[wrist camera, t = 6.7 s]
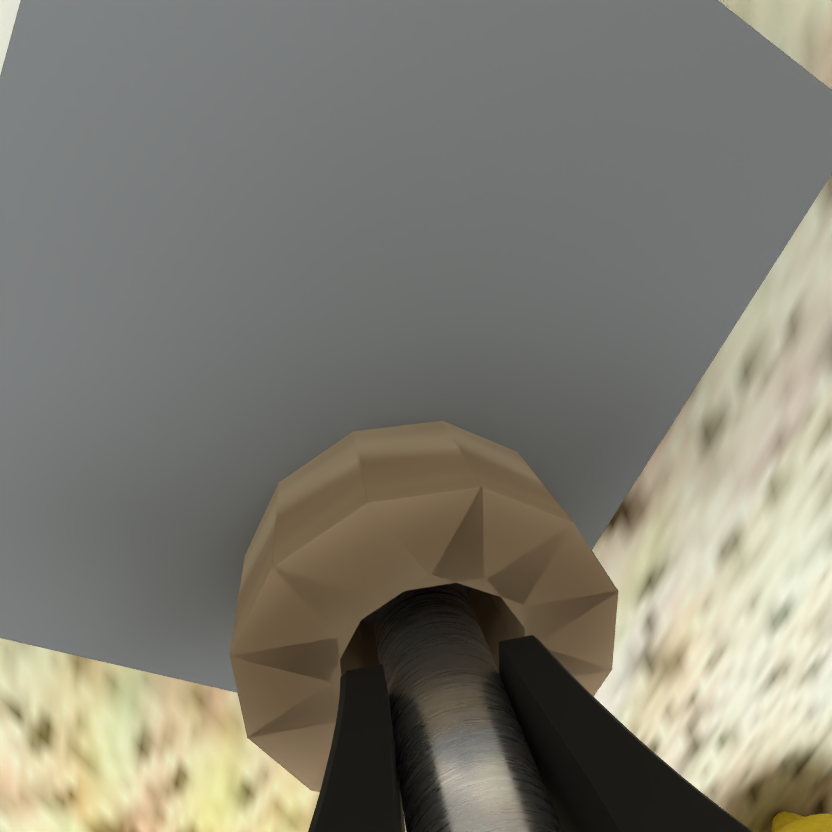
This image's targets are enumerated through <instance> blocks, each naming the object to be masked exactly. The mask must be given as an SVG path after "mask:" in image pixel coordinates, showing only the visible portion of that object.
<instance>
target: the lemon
mask: <svg viewBox="0 0 832 832" xmlns="http://www.w3.org/2000/svg"><path fill="white" fill-rule="evenodd" d="M772 832H832V814H814V815H809V816H806V817H805V816H801V815H798V814H795V813H791V812H787V811H784V812H780V813H778V814H777V815H776V816H775V817H774V818H773V821H772Z"/></svg>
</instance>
